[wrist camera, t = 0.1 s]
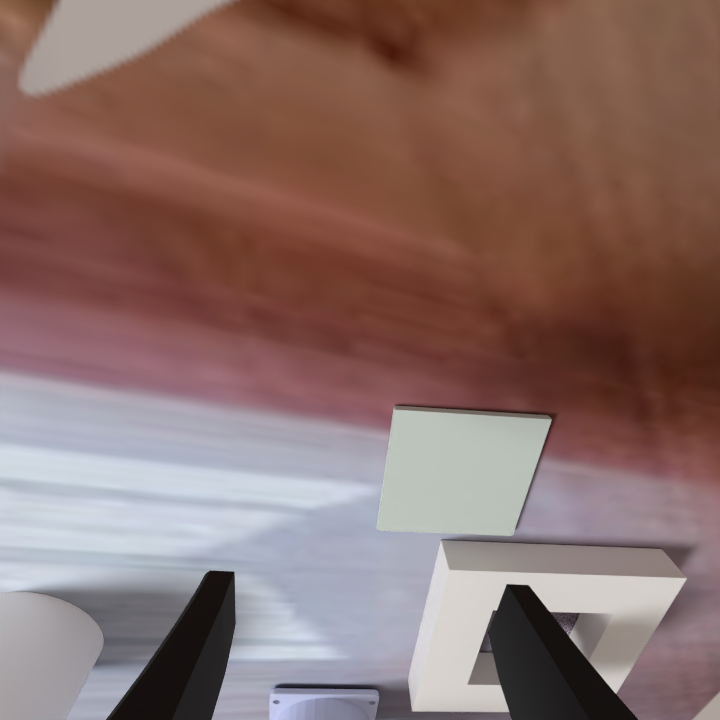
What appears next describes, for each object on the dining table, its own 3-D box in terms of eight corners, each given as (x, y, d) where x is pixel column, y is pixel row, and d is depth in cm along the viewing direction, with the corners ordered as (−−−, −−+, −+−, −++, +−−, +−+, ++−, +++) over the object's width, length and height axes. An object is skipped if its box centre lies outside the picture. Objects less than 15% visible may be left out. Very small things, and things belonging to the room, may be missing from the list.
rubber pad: (509, 530, 23) (512, 535, 23) (376, 525, 23) (376, 530, 22) (548, 415, 20) (551, 419, 20) (394, 405, 20) (395, 409, 19)
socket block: (588, 681, 30) (604, 713, 28) (407, 678, 29) (412, 711, 27) (661, 549, 25) (687, 578, 23) (441, 540, 24) (449, 570, 22)
